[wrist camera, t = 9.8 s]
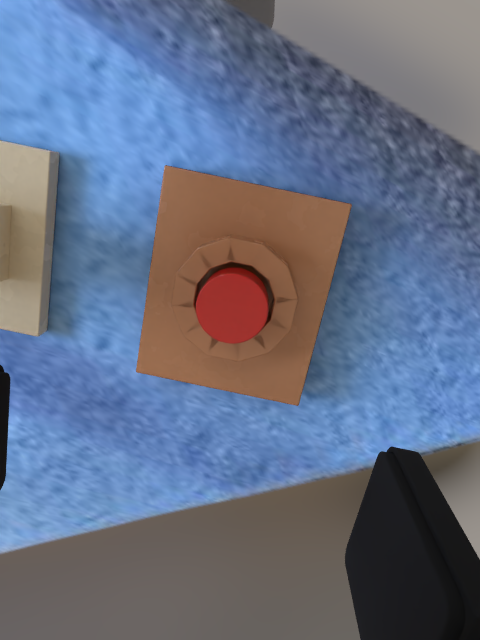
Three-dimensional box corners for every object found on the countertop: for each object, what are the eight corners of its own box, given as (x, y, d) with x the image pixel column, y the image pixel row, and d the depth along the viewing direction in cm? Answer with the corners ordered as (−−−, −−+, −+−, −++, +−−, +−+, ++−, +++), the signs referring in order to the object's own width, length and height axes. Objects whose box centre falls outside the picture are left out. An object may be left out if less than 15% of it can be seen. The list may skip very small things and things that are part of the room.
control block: (173, 166, 25) (156, 163, 21) (345, 202, 25) (359, 205, 21) (145, 358, 29) (126, 385, 25) (296, 390, 29) (300, 421, 25)
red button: (206, 260, 23) (202, 266, 21) (274, 275, 23) (275, 282, 21) (195, 325, 24) (190, 336, 22) (260, 339, 24) (260, 350, 22)
